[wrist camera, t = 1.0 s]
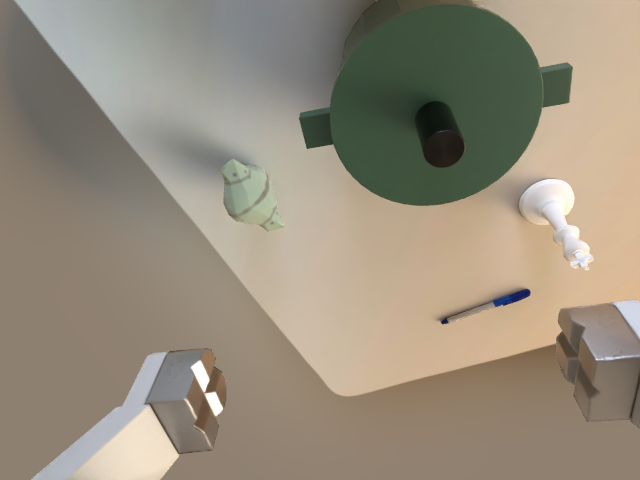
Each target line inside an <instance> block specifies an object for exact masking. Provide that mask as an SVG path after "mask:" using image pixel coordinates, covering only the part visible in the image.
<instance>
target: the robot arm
mask: <svg viewBox="0 0 640 480" xmlns="http://www.w3.org/2000/svg"><path fill="white" fill-rule="evenodd" d="M558 323H559V325H560V327H561V329H562V332H561V333H560V334H559V335H558V336H557V339H556V351H557V357H558V362H559V365H560V368H561V371H562V373H563V374H564V377H565V379H566V380H568V381H569V382H571V383H572V384H574V385H575V389H574V397H575V399H576V401H577V403H578V405H579V407H580V409H581V411H582V413H583V415H584V417H585V419H586V421H587V422H590V421H591V422H593V421H613V420H631V422H632V423H633V424H634V425H636V426H637V427H638V428H640V302H639V301H637V300H628V301H620V302H612V303H605V304H597V305H588V306H580V307H571V308H563V309H561V310H560V312H559V316H558ZM215 360H216V358H215V356H214V354H213V352H212V350H211V349H208V348H203V349H191V350H179V351H170V352H160V353H151V354H150V355H149V356H147V358H146V359H145V361H144V363H143V365H142V367H141V370H140V371H139V374H138V376H137V378H136V380H135V382H134V384H133V386H132V388H131V390H130V392H129V394H128V396H127V398H126V400H125V402H124V404H123V406H122V407H116V408H115V409H114V410H113V411H112V412H110V413H109V414H108V415H107V416H106V417H104V419H102V420H101V421H100V422H99V423H97V424H96V425H95V426H94V427H93V428H91V429H90V430H89V431H88V432H87V433H86V434H84V435H83V436H82V437H81V438H80V439H78V440H77V441H76V442H75V443H74V444H72V445H71V446H70V447H69V448H68V449H67V450H65V451H64V452H63V453H62V454H61V455H59V456H58V457H57V458H56V459H55V460H53V461H52V462H51V463H50V464H49V465H48V466H46V467H45V468H44V469H43V470H42V471H41V472H39V473H38V474H37V475H36V476H35V477H34V478H32V479H31V480H160V479H161V478H162V477H163V475H164V474H165V473H166V471H167V470H168V469H169V468H170V467H171V465H172V464H173V463H174V462H175V461H176V459H177V458H178V457H179V454H183V453H192V452H201V451H211V450H213V447H214V443H215V440H216V436H217V432H218V428H219V424H218V422H217V420H216V417H217V416H218V415H219V414H220V413H221V412H222V411H223V410H224V406H225V402H226V384H225V378H224V376H223V374H222V371H220V370H219V369H217V368H216V367H214V364H215Z"/></svg>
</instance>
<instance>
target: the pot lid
mask: <svg viewBox="0 0 640 480" xmlns="http://www.w3.org/2000/svg"><path fill="white" fill-rule="evenodd" d="M542 104H543V81H542V74H541V70H540V67H539V64H538V60H537V58H536V56H535V54H534V52H533V50H532V48H531V46H530V45H529V44H528V42H527V41H526V39H525V38H524V37H523V35H522V34H521V33H520V32H519V31H517V30H516V29H515V28H514V27H513V26H512V25H511V24H510V23H509V22H507V21H506V20H504V19H503V18H501V17H500V16H499V15H497V14H495V13H492V12H490V11H488V10H486V9H484V8H480V7H477V6H473V5H470V4H462V3H434V4H427V5H422V6H419V7H415V8H412V9H408V10H406V11H404V12H402V13H399V14H397V15H395V16H393V17H391V18H389V19H388V20H386V21H384V22H383V23H381V24H380V25H378V26H377V27H376V28H375V29H373V30H372V31H371V32H370V33H368V34H367V35H366V36H365V37H364V38H363V39H362V40H361V41H360V42H359V43H358V44H357V46H356V47H355V48H354V49H353V51H352V52H351V53H350V55H349V56H348V58H347V59H346V61H345V63H344V64H343V66H342V68H341V70H340V72H339V75H338V77H337V79H336V82H335V85H334V89H333V92H332V97H331V104H330V129H331V136H332V140H333V143H334V147H335V149H336V152H337V154H338V156H339V158H340V160H341V162H342V163H343V165H344V166H345V168H346V169H347V171H348V172H349V173H350V174H351V175H352V177H353V178H354V179H356V180H357V181H358V182H359V183H360V184H361V185H362V186H364V187H365V188H367V189H368V190H369V191H371V192H373V193H375V194H376V195H378V196H380V197H383V198H385V199H388V200H391V201H394V202H398V203H402V204H408V205H419V206H429V205H440V204H445V203H450V202H454V201H457V200H460V199H464V198H466V197H468V196H471V195H473V194H475V193H477V192H479V191H481V190H483V189H485V188H486V187H488V186H490V185H491V184H492V183H494V182H495V181H497V180H498V179H499V178H500V177H502V176H503V175H504V174H505V173H506V172H507V171H509V169H510V168H511V167H512V166H513V165H514V164H515V163H516V162H517V161H518V159H519V158H520V157H521V155H522V154H523V153H524V151H525V150H526V148H527V147H528V145H529V143H530V141H531V140H532V138H533V135H534V133H535V131H536V128H537V126H538V123H539V119H540V115H541V111H542Z"/></svg>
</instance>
